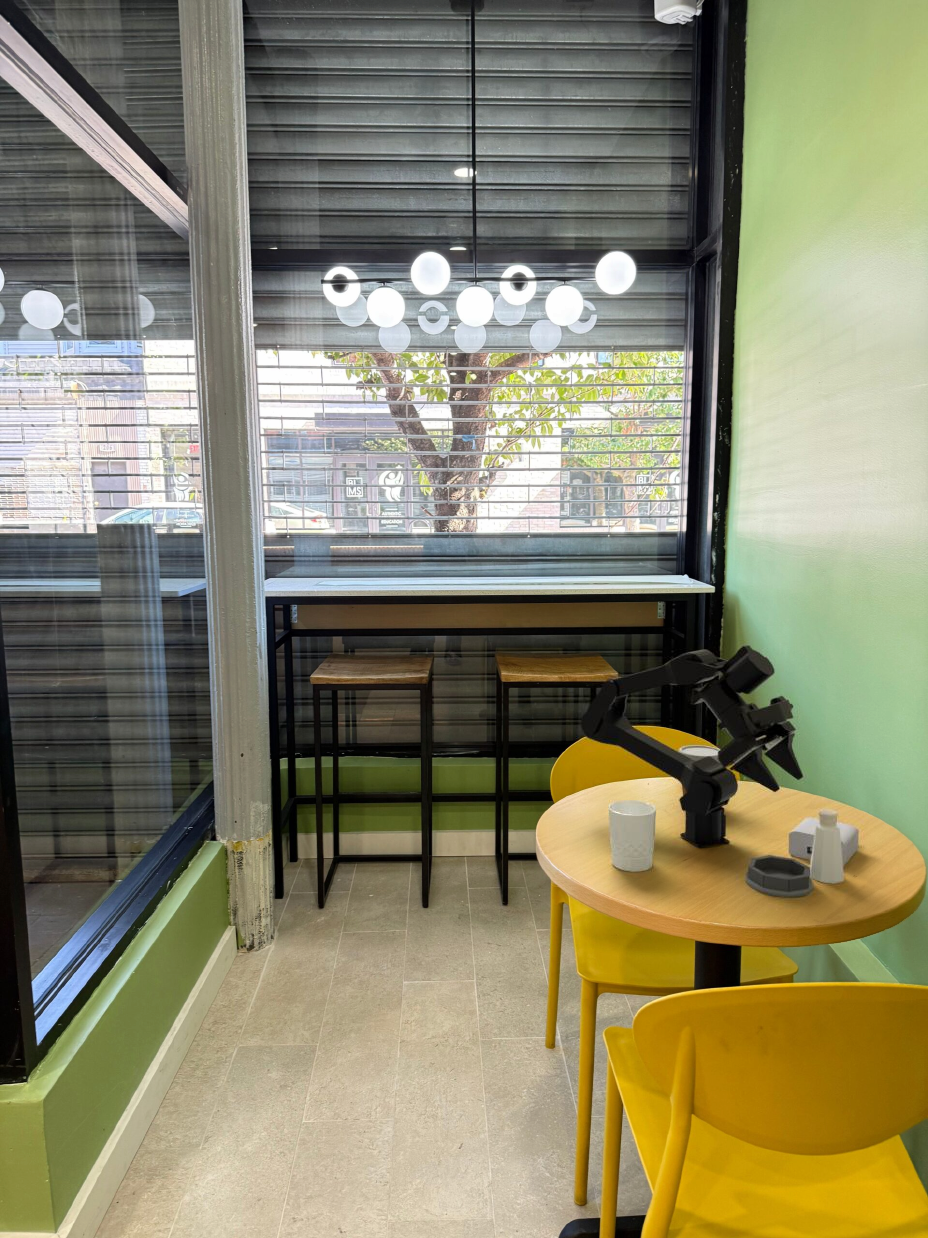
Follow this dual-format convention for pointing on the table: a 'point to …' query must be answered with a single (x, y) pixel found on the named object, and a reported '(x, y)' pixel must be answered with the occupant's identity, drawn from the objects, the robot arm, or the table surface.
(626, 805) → the white cup
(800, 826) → the charger
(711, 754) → the disposable coffee cup
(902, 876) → the table surface
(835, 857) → the pepper shaker
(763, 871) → the grey octagonal tray
